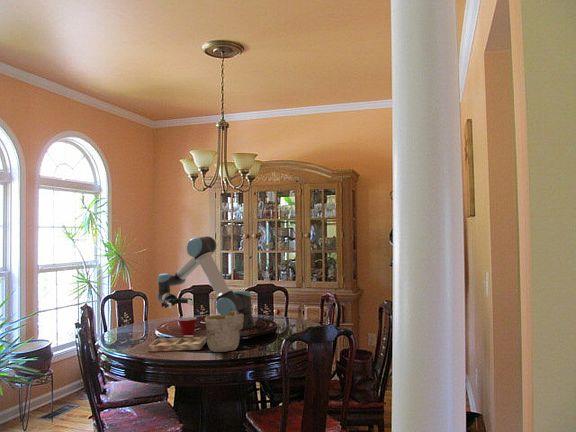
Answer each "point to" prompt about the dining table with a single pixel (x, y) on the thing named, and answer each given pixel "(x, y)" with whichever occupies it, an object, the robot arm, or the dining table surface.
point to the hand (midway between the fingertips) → (181, 304)
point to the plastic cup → (187, 325)
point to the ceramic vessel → (224, 331)
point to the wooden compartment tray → (177, 344)
